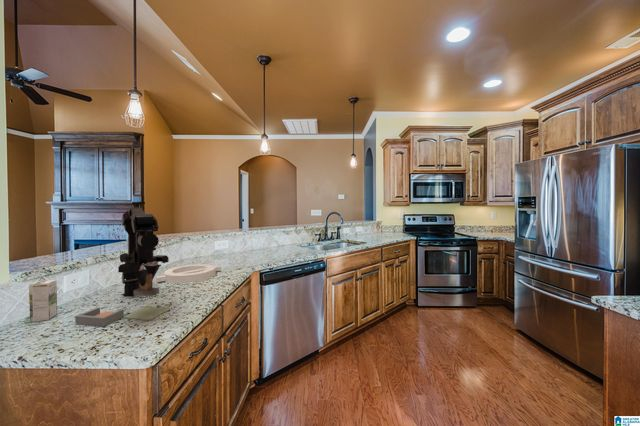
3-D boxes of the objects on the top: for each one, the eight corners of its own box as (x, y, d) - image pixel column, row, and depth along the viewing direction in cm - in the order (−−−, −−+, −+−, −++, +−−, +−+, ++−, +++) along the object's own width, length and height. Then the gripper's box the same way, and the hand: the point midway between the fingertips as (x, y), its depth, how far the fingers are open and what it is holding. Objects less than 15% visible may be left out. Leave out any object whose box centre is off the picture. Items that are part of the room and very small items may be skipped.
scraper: (142, 292, 109) (141, 272, 109) (159, 292, 108) (158, 273, 108) (133, 295, 105) (133, 275, 105) (151, 296, 104) (150, 275, 104)
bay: (97, 314, 107) (97, 307, 106) (123, 317, 104) (123, 309, 104) (75, 324, 98) (75, 316, 98) (103, 326, 96) (103, 318, 96)
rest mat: (144, 308, 113) (144, 307, 113) (169, 309, 111) (169, 308, 111) (123, 318, 103) (123, 316, 103) (150, 320, 101) (150, 319, 101)
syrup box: (39, 316, 106) (37, 280, 105) (58, 314, 108) (56, 278, 107) (29, 322, 100) (27, 284, 100) (50, 320, 102) (48, 282, 102)
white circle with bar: (222, 271, 175) (222, 264, 175) (202, 284, 147) (202, 275, 147) (180, 271, 176) (180, 264, 176) (153, 284, 148) (152, 275, 148)
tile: (105, 316, 106) (105, 311, 106) (118, 317, 105) (118, 312, 105) (90, 323, 100) (90, 317, 100) (103, 324, 99) (103, 318, 99)
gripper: (146, 242, 116) (147, 277, 117) (104, 249, 98) (106, 291, 99) (168, 242, 114) (170, 278, 115) (130, 250, 96) (132, 292, 97)
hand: (146, 284), depth 106 cm, fingers closed on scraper, 3 cm apart
